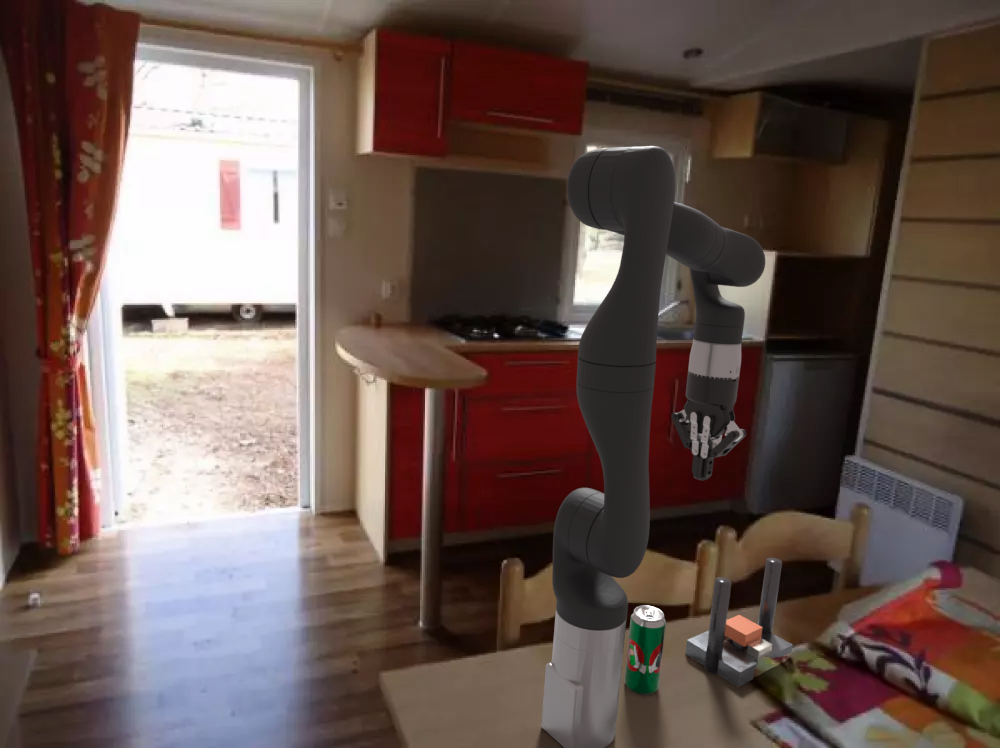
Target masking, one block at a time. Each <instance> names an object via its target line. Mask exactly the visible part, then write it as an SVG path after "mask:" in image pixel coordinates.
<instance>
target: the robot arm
mask: <svg viewBox="0 0 1000 748" xmlns="http://www.w3.org/2000/svg"><path fill="white" fill-rule="evenodd" d="M674 167H675V166H674V163H673V160H672V158H671V156H670V154H669V153H668V152H667V150H666V149H664V148H663V147H660V146H655V145H649V146H648V145H646V146H644V145H643V146H641V145H640V146H625V147H624V146H621V147H619V146H618V147H602V148H597V149H593V150H588V151H587V152H584V153H583V154H582V155H580V156H579V157H577V159H576V161H575V162H574V163H573V164H572V167H571V168H570V170H569V174H568V177H567V183H566V184H567V187H566V190H567V191H566V194H567V201H568V203H569V208H570V210H571V211H572V213H573V215H574V216H575V218H576V219H577V220H578V221H579V222H581V224H584V225H585V226H587V227H590V228H592V229H596V230H602V231H603V230H604V231H608V232H612V233H616V234H618V235H622V236H624V237H623V245H622V251H621V252H622V253H621V258H620V263H619V268H618V272H617V274H616V276H615V279H614V281H613V283H612V285H611V287H610V290H609V291H607V293H606V296H605V297H604V299H603V300H602V301H601V303H600V304H599V306H598V308H597V309H596V310H595V312H594V313H593V315H592V316H591V318H590V320H589V321H588V323H587V324H586V326H585V328H584V331H583V332H582V334H581V337H580V340H579V343H578V349H577V350H578V351H577V365H576V367H577V368H576V369H577V370H576V398H577V402H578V407H579V409H580V412H581V415H582V417H583V420H584V423H585V426H586V428H587V430H588V433H589V434H590V437H591V439H592V442H593V444H594V446H595V449H596V452H597V453H598V456H599V459H600V464H601V469H602V474H603V485H604V486H603V488H604V489H603V491H604V492H602V491H599V490H597V489H593V488H589V487H580V488H579V487H578V488H576V489H575V490H572V491H571V492H570V493H569V494H568V495H566V497H565V498H564V500H563V501H562V503H561V505H560V506H559V508H558V511H557V514H556V517H555V522H554V526H553V527H554V528H553V536H552V537H553V538H552V539H553V540H552V575H551V576H552V581H551V582H552V590H553V593H554V596H555V599H556V601H555V603H556V604H555V615H554V617H555V618H554V628H553V629H554V632H553V642H552V643H553V645H552V653H551V655H552V656H551V657H552V658H551V662H549V663H546V665H545V671H544V672H545V674H544V687H543V700H542V701H543V702H542V715H541V723H540V724H541V726H540V727H541V728H542V729H543V730H544V731H546V732H547V734H549V736H551V737H552V738H553V739H554V740H556V742H557V743H558V744H560V745H561V746H562V747H563V748H606V747H608V746H610V744H611V743H613V741H614V739H615V737H616V733H617V732H616V731H617V723H618V722H617V721H618V720H617V719H618V710H619V701H620V700H619V699H620V690H621V689H620V688H621V678H622V669H623V659H624V658H623V657H624V648H625V637H626V628H627V619H628V609H629V608H628V607H629V602H628V596H627V593H626V592H625V589H624V588H623V587H622V586H621V585H620V584H619V582H618V581H617V580H616V579H615V578H617V579H624V578H627V577H630V576H631V575H633V574H634V573H635V572H636V571H637V569H638V568H639V567H640V565H641V563H642V561H643V559H644V557H645V554H646V552H647V547H648V542H649V538H650V537H649V536H650V524H651V523H650V522H651V521H650V520H651V519H650V518H651V517H650V516H651V515H650V514H651V511H650V510H651V509H650V508H651V507H650V506H651V505H650V473H649V471H650V469H649V465H650V464H649V460H650V459H649V457H650V434H651V433H650V432H651V419H652V417H651V416H652V406H653V399H654V389H655V380H656V379H655V377H656V362H657V343H658V342H657V341H658V327H659V313H660V311H659V310H660V300H661V290H662V289H661V288H662V283H663V276H664V270H665V269H664V268H665V261H666V258H667V257H666V256H668V257H670V258H672V259H673V260H675V261H676V262H678V263H680V264H682V265H683V266H685V267H687V268H689V273H690V278H691V279H690V280H691V284H692V291H693V298H694V299H693V300H694V306H695V321H694V329H693V340H692V345H691V349H690V353H689V361H688V370H687V376H686V377H687V379H686V387H685V388H686V389H685V397H686V399H687V400H686V403H685V404H684V406H683V409H682V410H680V411H679V412H674V413H672V414H671V419H672V422H673V424H674V427H675V429H676V432H677V434H678V436H679V438H680V441H681V442H682V445H683V447H684V448H685V449H689V450H690V451H691V453H692V455H693V456H692V457H693V458H692V465H691V473H692V474H693V475H692V477H693V478H694V479H696V480H699V481H701V482H702V481H706V480H708V479H710V478H711V476H713V470H714V469H713V468H714V462H715V461H714V459H715V458H717V457H718V458H719V457H725V456H727V455H728V453H730V451H732V450H733V449H734V448H735V447H736V446H737V445H738V444H739V443H740V442H742V440H743V439H744V438H745V437H746V436H747V431H746V429H743V428H740V427H739V426H738V424H736V422H735V420H736V415H735V412H734V406H735V404H736V403H737V397H738V389H739V381H740V373H741V365H742V342H743V335H744V327H745V326H744V325H745V317H746V315H745V313H746V312H745V309H744V307H743V306H742V305H741V304H739V303H736V302H734V301H733V302H732V301H730V300H728V299H725V298H724V297H723V296H722V294H721V291H720V288H719V286H727V287H735V288H743V287H744V288H745V287H749V286H752V285H753V284H755V283H756V282H757V281H758V280H759V279H760V278H761V276H763V274H764V272H765V267H766V257H765V251H764V249H763V248H762V245H761V244H760V243H759V242H758V241H757V240H756V239H755V238H753V237H751V236H749V235H747V234H745V233H743V232H742V233H741V232H739V231H736V230H733V229H731V228H726V227H723V226H721V225H720V224H719V223H717V222H716V221H715V220H713V219H712V218H711V217H709V216H708V215H707V214H705V213H703V212H702V211H700V210H699V209H696V208H694V207H691V206H689V205H685V204H684V203H679V202H676V201H675V196H676V175H675V169H674ZM723 434H724V436H725V437H724V438H723Z"/></svg>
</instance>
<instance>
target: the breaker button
mask: <svg viewBox="0 0 1000 748" xmlns="http://www.w3.org/2000/svg"><path fill="white" fill-rule="evenodd" d="M762 628H763V627H761V626H759V625H758V623H756V622H753V621H751V620H750V619H748V618H747V617H744V616H742V615H740V614H737V615H736V616H733V617H731V618H729V619H727V621H726V629H725V636H726V637H728V638H730V639H732V640H733V645H735V646H737V647H738V648H740V649H742V650H743V649H745V648H747V645H749V644H751V643H753V642H755V641H757V640H759V639H761V635H762Z"/></svg>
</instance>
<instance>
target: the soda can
mask: <svg viewBox="0 0 1000 748" xmlns="http://www.w3.org/2000/svg"><path fill="white" fill-rule="evenodd" d="M666 624H667V621H666V619H665V614H664V612H663V611H662V610H661V609H660V608H658V607H655V606H653V605H652V606H651V605H645V604H644V605H639V606H636V607H635V608H634V609H633V613H632V614H631V615H630V622H629V632H628V642H627V650H626V651H627V652H626V660H625V661H626V662H625V671H624V683H625V685H626V687H627V688H628V689H629V690H630V691H631V692H633V693H635V694H637V695H643V696H647V695H648V696H649V695H652V694H654V693H655V692H657V691H658V690H659V688H660V681H661V674H662V672H661V671H662V663H663V662H662V661H663V653H664V644H665V637H666V636H665V634H666V626H667V625H666Z"/></svg>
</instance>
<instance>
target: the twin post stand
mask: <svg viewBox="0 0 1000 748" xmlns="http://www.w3.org/2000/svg"><path fill="white" fill-rule="evenodd" d="M765 561H766V562H765V568H764V575H763V582H762V583H763V584H762V588H761V589H762V591H761V596H760V604H759V610H758V618H757V619H758V620H757V625H759V626H761V627H763V628H762V635H761V639H759V640H757V641H755V642H753V643H751V644H749V645H747V648H745V649H743V650H742V649H740V648H738V647H737V646H735V645H733V640H732V639H730V638H728V637H726V636H725V629H726V621H727V620H728V619H727V618H728V612H729V604H730V598H731V597H730V596H731V591H732V590H731V589H732V580H730V579H729V578H727V577H721V576H718V577H715V579H714V584H713V591H712V592H713V595H712V600H711V601H712V602H711V609H710V610H711V611H710V617H709V627H708V630H706V631H704V632H702V633H700V634H697V635H695V636H693V637H691V638H688V639H687V640H686V646H685V655H687V656H688V657H690V658H691V659H692V660H693V661H694V660H695V662H697V663H699V664H700V665H702V666H704V667H703V668H704V671H706V672H707V673H709V674H711V675H718V676H720V677H721V678H722V679H724V680H726V681H728V683H731V684H732V685H734V686H736V687H737V688H739V687H741V686H742V685H744V684H746V683H748V682H750V681H752V680H754V679H753V677H754V674H753V673H754V669H755V667H756V665H757V664H758V659H760V658H762V657H764V656H765V657H771V658H775V657H781V656H784V655H787V654H789V653H791V652H792V653H793V647H794V645H793V643H791V642H789V641H786V640H785V639H783V638H781V637H780V636H777V635H776V634H774V633H773V630H774V629H773V628H774V621H775V617H776V608H777V600H778V593H779V587H780V580H781V573H782V572H781V571H782V567H783V561H782V560H781V559H779V558H777V557H776V558H775V557H767V558H766V560H765Z"/></svg>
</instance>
